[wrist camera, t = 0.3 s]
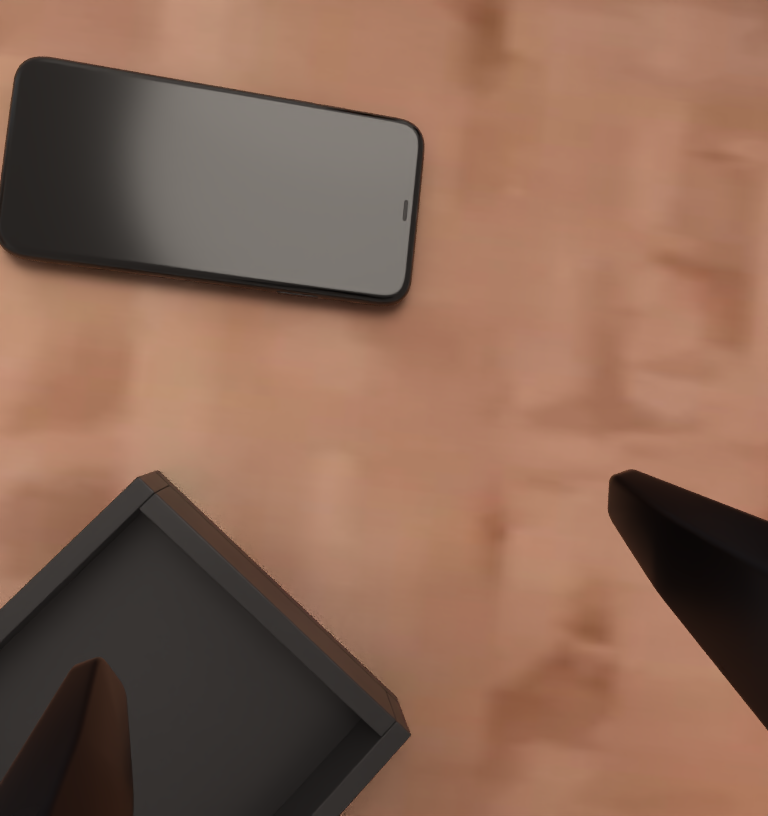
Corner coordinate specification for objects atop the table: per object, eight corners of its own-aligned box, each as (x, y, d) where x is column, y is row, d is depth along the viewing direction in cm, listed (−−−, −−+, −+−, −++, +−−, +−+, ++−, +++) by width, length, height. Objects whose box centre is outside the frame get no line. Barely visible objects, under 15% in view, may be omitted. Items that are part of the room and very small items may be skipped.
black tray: (397, 697, 25) (412, 735, 22) (135, 986, 23) (111, 1071, 20) (157, 469, 24) (138, 476, 21) (-139, 755, 22) (-207, 808, 19)
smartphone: (-2, 259, 23) (406, 312, 25) (-14, 252, 22) (410, 308, 25) (24, 60, 24) (424, 129, 26) (14, 46, 23) (429, 119, 25)
